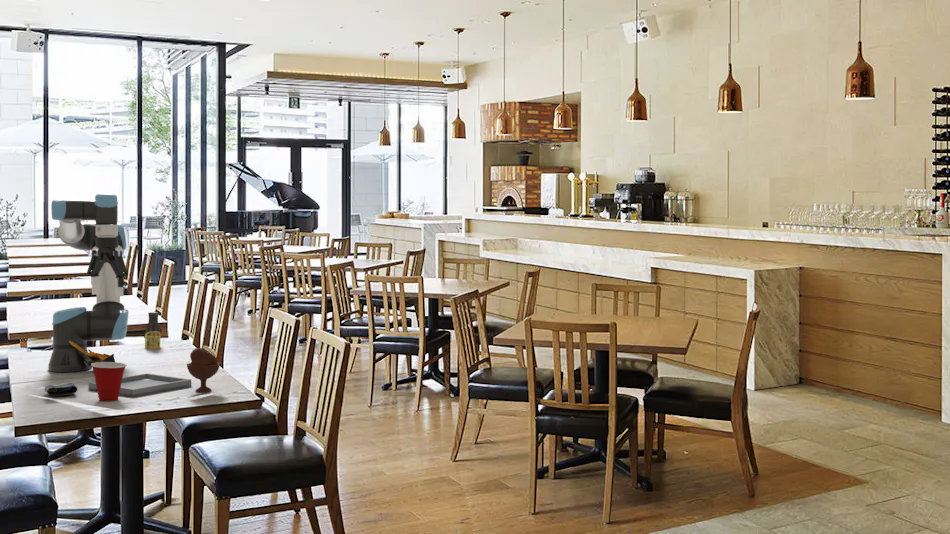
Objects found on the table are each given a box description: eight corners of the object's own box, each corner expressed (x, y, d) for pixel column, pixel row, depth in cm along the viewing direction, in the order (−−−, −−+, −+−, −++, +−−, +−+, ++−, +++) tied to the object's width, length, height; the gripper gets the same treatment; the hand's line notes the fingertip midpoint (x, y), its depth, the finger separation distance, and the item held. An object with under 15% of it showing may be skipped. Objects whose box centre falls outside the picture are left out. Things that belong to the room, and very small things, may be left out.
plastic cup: (126, 401, 285) (126, 364, 284) (90, 403, 281) (89, 366, 281) (127, 395, 295) (127, 360, 295) (92, 397, 292) (92, 361, 291)
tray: (88, 389, 305) (88, 382, 305) (147, 380, 326) (147, 373, 326) (132, 397, 293) (132, 389, 292) (191, 386, 313) (191, 379, 313)
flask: (46, 388, 290) (43, 385, 299) (47, 397, 290) (44, 393, 299) (77, 385, 294) (73, 382, 304) (78, 393, 294) (73, 390, 304)
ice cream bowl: (202, 395, 296) (202, 350, 296) (180, 392, 302) (179, 348, 301) (226, 390, 305) (226, 347, 305) (204, 387, 311) (204, 345, 310)
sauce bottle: (145, 359, 377) (145, 313, 376) (143, 357, 382) (143, 312, 381) (161, 358, 380) (161, 312, 379) (159, 356, 385) (159, 311, 384)
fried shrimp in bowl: (124, 365, 335) (99, 324, 333) (98, 380, 328) (72, 338, 326) (117, 368, 342) (92, 328, 340) (91, 383, 335) (65, 342, 333)
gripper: (76, 236, 323) (77, 294, 324) (119, 237, 310) (120, 297, 311) (94, 236, 330) (95, 293, 331) (137, 237, 316) (138, 296, 317)
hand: (107, 295), depth 321 cm, fingers open, 13 cm apart
